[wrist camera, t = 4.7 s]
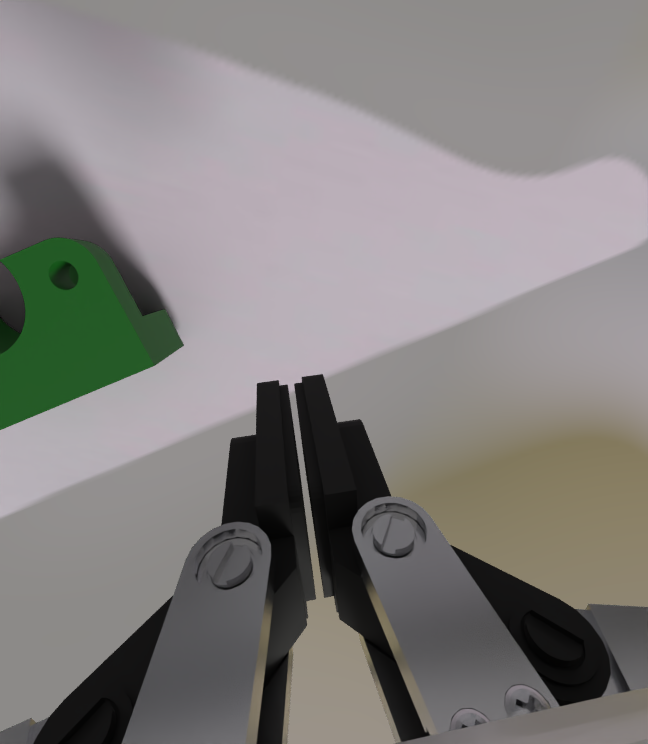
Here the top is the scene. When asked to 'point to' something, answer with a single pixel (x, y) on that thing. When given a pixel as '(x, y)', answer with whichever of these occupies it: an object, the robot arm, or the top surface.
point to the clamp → (73, 329)
